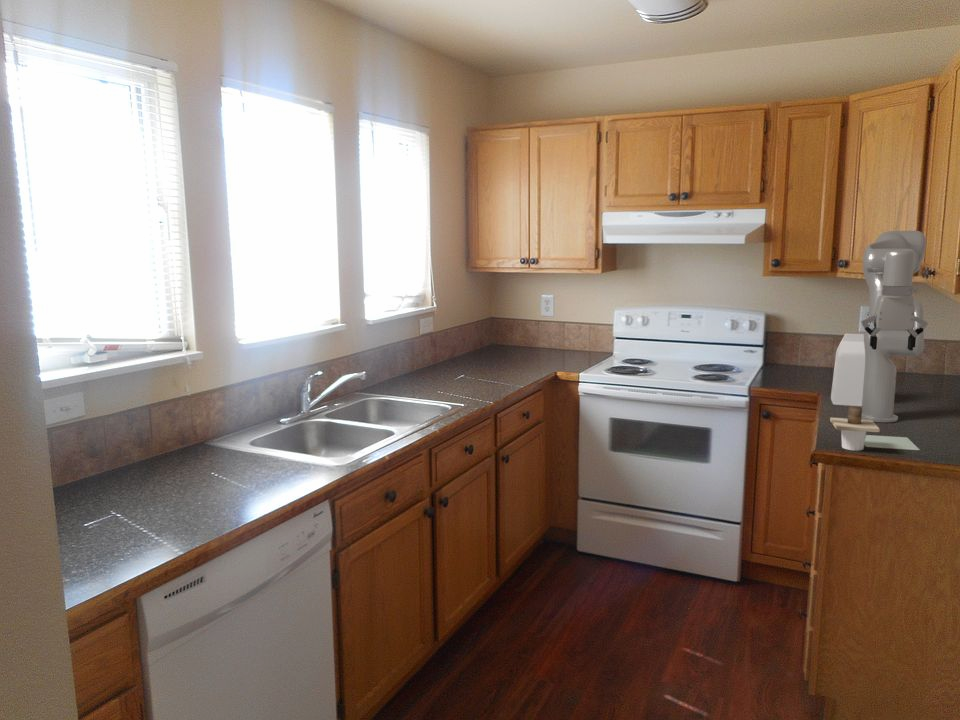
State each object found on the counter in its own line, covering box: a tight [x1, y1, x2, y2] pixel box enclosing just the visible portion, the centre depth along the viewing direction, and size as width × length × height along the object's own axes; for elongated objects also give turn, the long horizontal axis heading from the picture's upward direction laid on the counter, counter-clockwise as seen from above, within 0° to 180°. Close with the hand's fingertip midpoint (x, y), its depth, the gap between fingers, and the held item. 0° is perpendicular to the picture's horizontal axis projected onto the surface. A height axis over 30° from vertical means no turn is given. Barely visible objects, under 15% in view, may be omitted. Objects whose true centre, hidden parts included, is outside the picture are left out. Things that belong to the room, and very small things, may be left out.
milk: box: [830, 333, 865, 407], centre depth 268 cm, size 12×12×26 cm
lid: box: [829, 406, 881, 433], centre depth 208 cm, size 11×11×6 cm
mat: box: [864, 434, 921, 451], centre depth 215 cm, size 14×14×1 cm
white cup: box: [840, 430, 867, 451], centre depth 209 cm, size 7×7×7 cm
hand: (891, 349), depth 213 cm, fingers open, 9 cm apart
